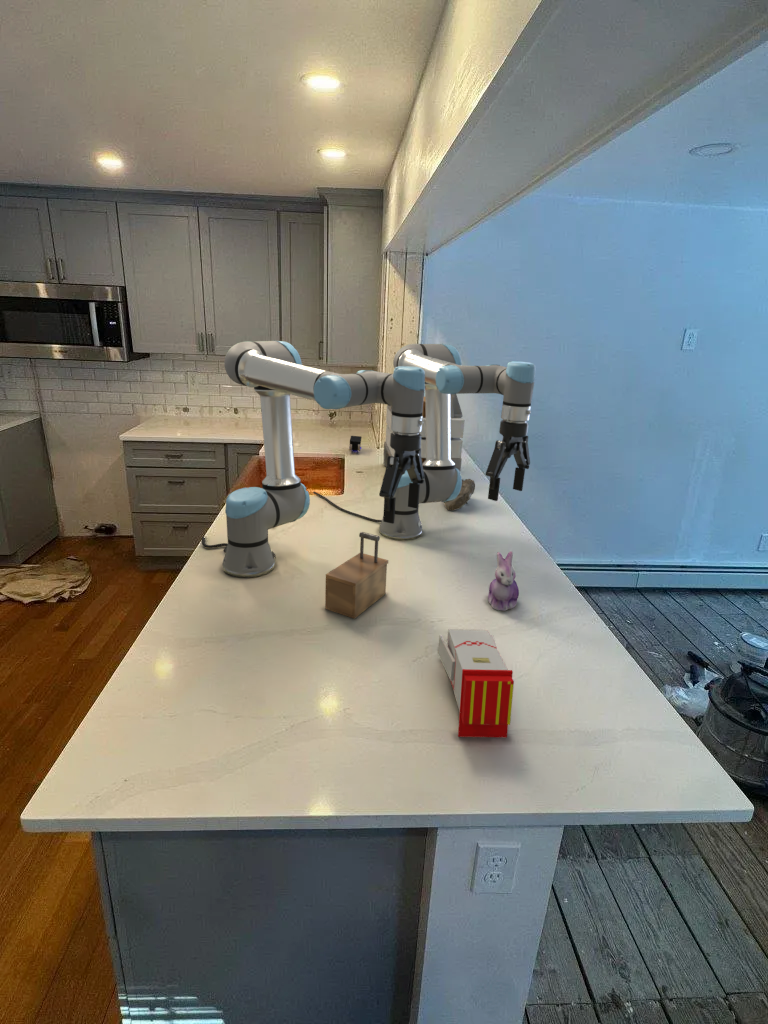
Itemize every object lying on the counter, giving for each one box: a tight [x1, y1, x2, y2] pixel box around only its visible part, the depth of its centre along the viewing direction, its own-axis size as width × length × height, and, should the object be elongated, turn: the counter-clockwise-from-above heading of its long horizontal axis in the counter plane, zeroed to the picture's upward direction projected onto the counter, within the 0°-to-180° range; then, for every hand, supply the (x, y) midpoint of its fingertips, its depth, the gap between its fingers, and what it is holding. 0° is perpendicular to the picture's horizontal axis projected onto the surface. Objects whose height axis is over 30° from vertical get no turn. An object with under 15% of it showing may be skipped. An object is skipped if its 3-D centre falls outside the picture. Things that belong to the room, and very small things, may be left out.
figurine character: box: [348, 435, 363, 455], centre depth 309 cm, size 7×8×15 cm
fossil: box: [443, 478, 476, 511], centre depth 232 cm, size 22×10×15 cm
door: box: [325, 531, 389, 587], centre depth 149 cm, size 17×9×9 cm, turn 150°
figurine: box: [487, 550, 520, 612], centre depth 153 cm, size 9×10×15 cm
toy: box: [437, 628, 515, 738], centre depth 117 cm, size 12×13×30 cm
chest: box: [324, 564, 388, 620], centre depth 151 cm, size 16×9×9 cm, turn 151°
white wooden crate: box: [383, 394, 465, 473], centre depth 268 cm, size 34×33×41 cm
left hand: (401, 514), depth 145 cm, fingers open, 13 cm apart
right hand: (505, 494), depth 162 cm, fingers open, 13 cm apart
